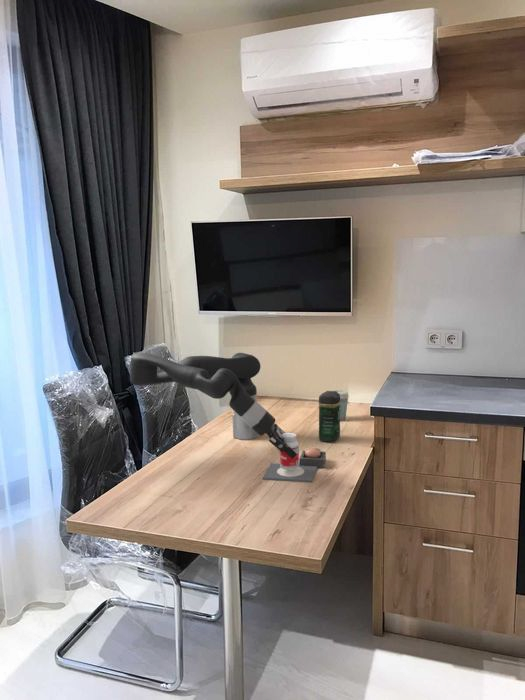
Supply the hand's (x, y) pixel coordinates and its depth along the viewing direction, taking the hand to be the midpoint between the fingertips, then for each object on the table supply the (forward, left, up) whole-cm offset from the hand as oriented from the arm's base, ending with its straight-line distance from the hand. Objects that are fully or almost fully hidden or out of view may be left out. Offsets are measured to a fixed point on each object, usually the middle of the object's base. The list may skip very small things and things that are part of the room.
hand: (294, 452), depth 191 cm
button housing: (+5, +10, -7) cm, 13 cm away
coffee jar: (+8, +37, -7) cm, 38 cm away
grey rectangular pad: (-1, 0, -7) cm, 7 cm away
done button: (+5, +10, -4) cm, 12 cm away
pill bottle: (-2, 0, -5) cm, 5 cm away
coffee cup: (+9, +64, -7) cm, 65 cm away
